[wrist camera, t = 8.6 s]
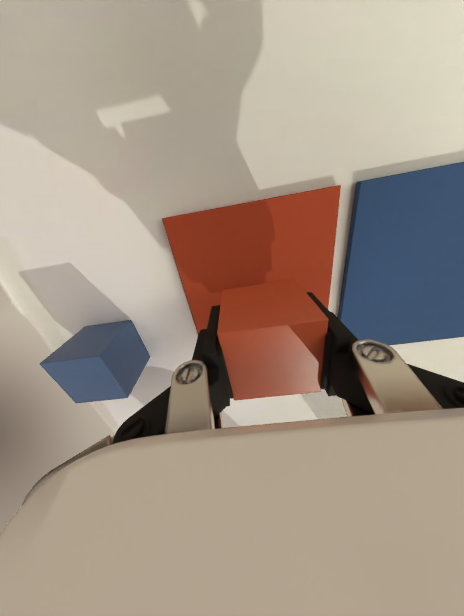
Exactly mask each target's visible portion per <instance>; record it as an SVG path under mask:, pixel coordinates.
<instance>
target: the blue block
mask: <svg viewBox="0 0 464 616" xmlns="http://www.w3.org/2000/svg"><path fill="white" fill-rule="evenodd" d="M149 358H150V356H149V354H148V352H147V350H146V348H145V346H144V344H143V342H142V340H141V339H140V337H139V335H138V333H137V331H136V329H135V327H134V325H133V323H132V321H131V320H130V321H122V322H115V323H108V324H101V325H94V326H87V327H84V328H83V329H82V330H80V331H79V332H78V333H77V334H75V335H74V336H73V337H72V338H71V339H69V340H68V341H67V342H66V343H64V344H63V345H62V346H61V347H59V348H58V349H57V350H56V351H55V352H53V353H52V354H51V355H50V356H48V357H47V358H46V359H45V360H44V361H42V362H41V363H40V365H41V366H42V367H43V368H44V369H45V370H46V371H47V373H48V374H49V375H50V376H51V377H52V378H53V379H54V380H55V381H56V382H57V383H58V384H59V385H60V386H61V388H62V389H63V390H64V391H65V392H66V393H67V394H68V395H69V396H70V397H71V398H72V399H73V401H74V402H75V403H83V402H93V401H103V400H112V399H122V398H128V396H129V395H130V393H131V391H132V389H133V387H134V386H135V384H136V382H137V380H138V378H139V376H140V375H141V373H142V371H143V369H144V367H145V366H146V364H147V362H148V360H149Z"/></svg>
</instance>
